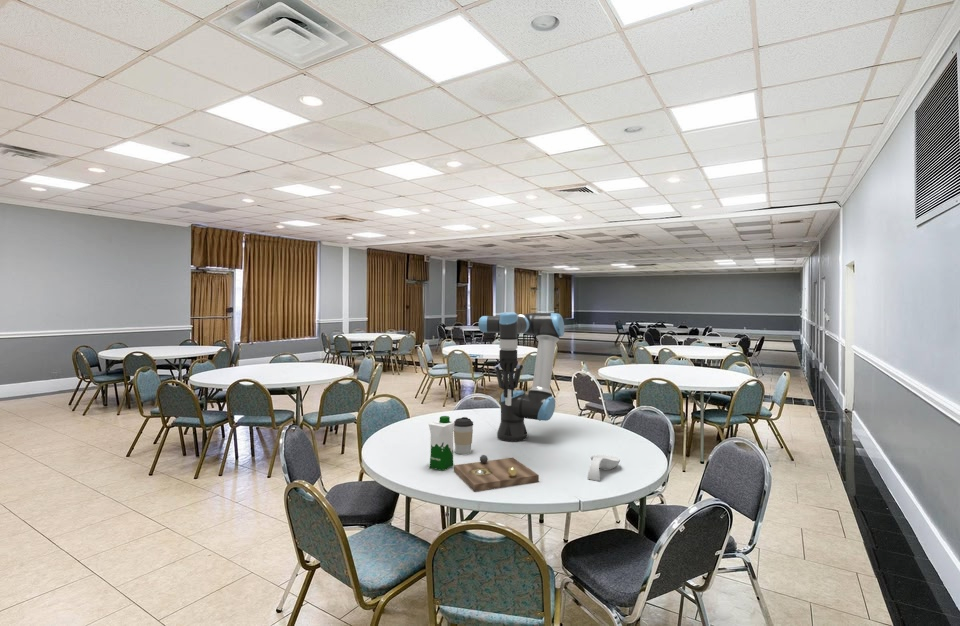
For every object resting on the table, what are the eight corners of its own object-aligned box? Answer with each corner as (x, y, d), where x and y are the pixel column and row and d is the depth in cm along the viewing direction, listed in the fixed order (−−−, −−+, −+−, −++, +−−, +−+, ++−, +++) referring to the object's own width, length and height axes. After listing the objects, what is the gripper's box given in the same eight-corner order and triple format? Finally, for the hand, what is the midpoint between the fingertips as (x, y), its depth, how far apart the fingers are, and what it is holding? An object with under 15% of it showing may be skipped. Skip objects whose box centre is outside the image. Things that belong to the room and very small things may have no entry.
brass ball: (514, 474, 180) (514, 465, 180) (518, 477, 177) (519, 468, 177) (505, 475, 179) (506, 466, 178) (510, 479, 175) (510, 469, 175)
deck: (512, 463, 200) (512, 457, 200) (538, 481, 180) (538, 475, 180) (453, 471, 190) (453, 465, 190) (474, 491, 170) (474, 484, 170)
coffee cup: (470, 455, 210) (470, 421, 209) (450, 454, 211) (450, 420, 211) (475, 449, 218) (475, 417, 218) (455, 448, 220) (456, 416, 220)
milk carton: (456, 465, 197) (456, 417, 197) (443, 472, 189) (443, 421, 189) (439, 461, 202) (439, 414, 201) (426, 468, 194) (426, 418, 193)
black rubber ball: (485, 461, 195) (485, 453, 195) (488, 463, 192) (489, 455, 192) (478, 462, 194) (478, 454, 194) (481, 464, 191) (481, 456, 191)
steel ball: (477, 470, 185) (473, 476, 183) (479, 466, 183) (475, 473, 181) (484, 474, 184) (480, 481, 182) (486, 471, 182) (482, 478, 180)
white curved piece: (594, 460, 205) (594, 444, 204) (622, 465, 199) (622, 448, 199) (579, 478, 184) (579, 460, 183) (610, 484, 178) (610, 465, 178)
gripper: (518, 347, 207) (517, 401, 208) (490, 349, 202) (490, 404, 203) (526, 349, 200) (526, 405, 201) (498, 350, 195) (497, 408, 196)
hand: (508, 404), depth 202 cm, fingers closed
